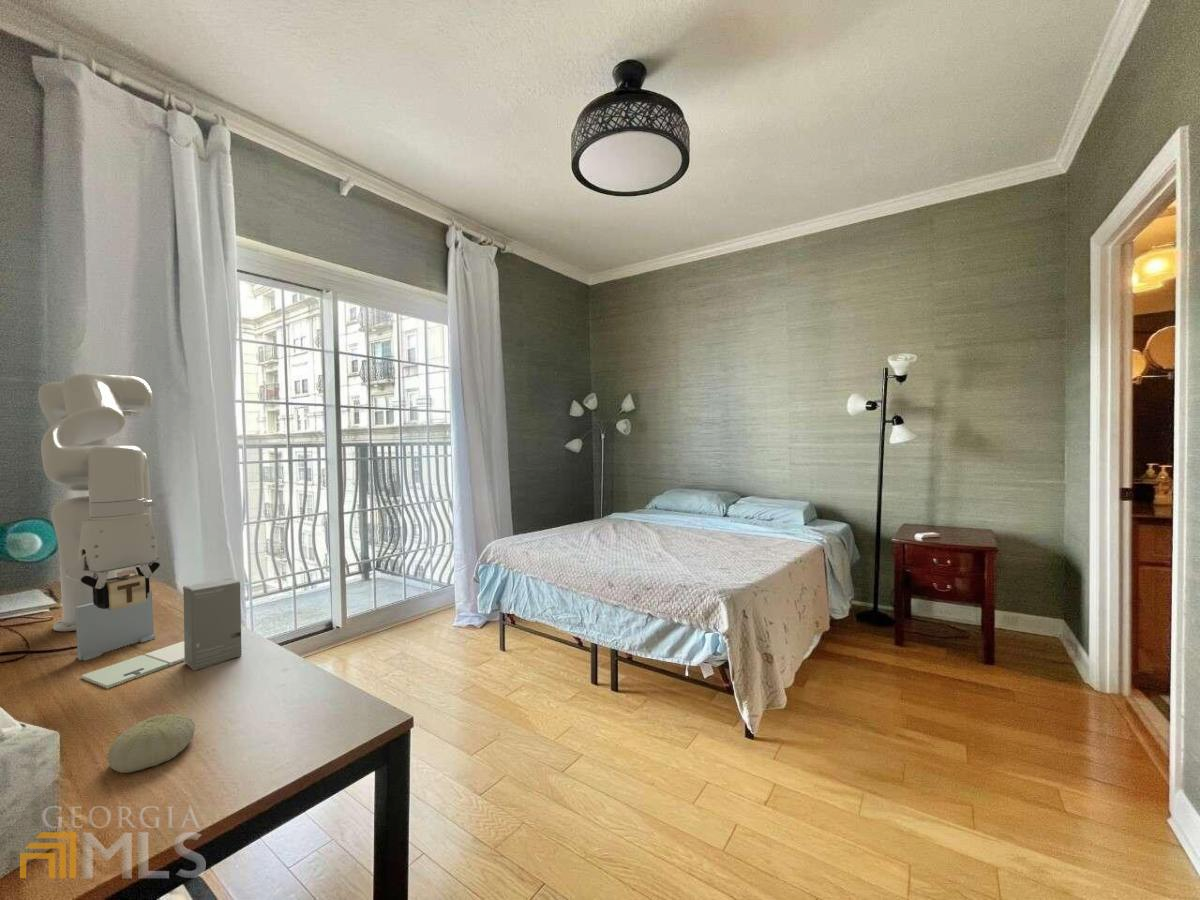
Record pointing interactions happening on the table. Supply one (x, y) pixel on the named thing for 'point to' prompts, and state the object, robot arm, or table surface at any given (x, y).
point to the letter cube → (125, 591)
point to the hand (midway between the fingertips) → (122, 601)
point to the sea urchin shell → (150, 742)
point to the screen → (112, 627)
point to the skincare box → (212, 622)
